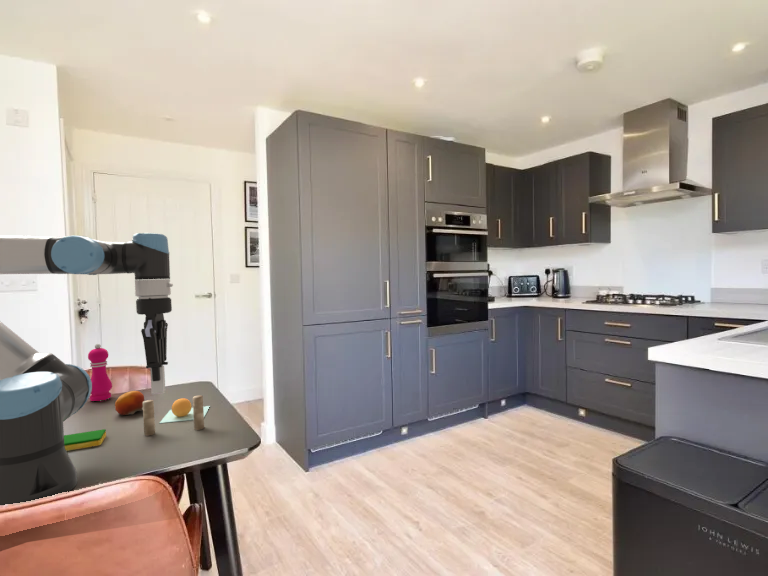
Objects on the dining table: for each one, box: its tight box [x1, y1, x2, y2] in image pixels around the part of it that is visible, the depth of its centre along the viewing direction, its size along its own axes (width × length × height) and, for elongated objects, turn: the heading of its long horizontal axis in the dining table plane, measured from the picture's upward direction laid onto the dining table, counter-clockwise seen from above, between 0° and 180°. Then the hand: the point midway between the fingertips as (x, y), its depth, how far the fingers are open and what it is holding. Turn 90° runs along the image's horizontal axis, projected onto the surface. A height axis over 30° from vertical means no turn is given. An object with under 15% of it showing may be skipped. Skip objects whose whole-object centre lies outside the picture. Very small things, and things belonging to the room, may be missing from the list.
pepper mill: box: [87, 343, 113, 402], centre depth 146 cm, size 7×7×20 cm
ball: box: [171, 397, 193, 417], centre depth 126 cm, size 6×6×6 cm
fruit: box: [114, 390, 145, 416], centre depth 131 cm, size 8×8×8 cm
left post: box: [142, 399, 156, 437], centre depth 112 cm, size 3×3×9 cm
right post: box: [192, 394, 205, 431], centre depth 115 cm, size 3×3×9 cm
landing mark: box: [159, 405, 211, 424], centre depth 128 cm, size 12×12×1 cm
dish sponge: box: [64, 428, 107, 452], centre depth 106 cm, size 7×14×2 cm, turn 114°
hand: (158, 392), depth 101 cm, fingers closed
